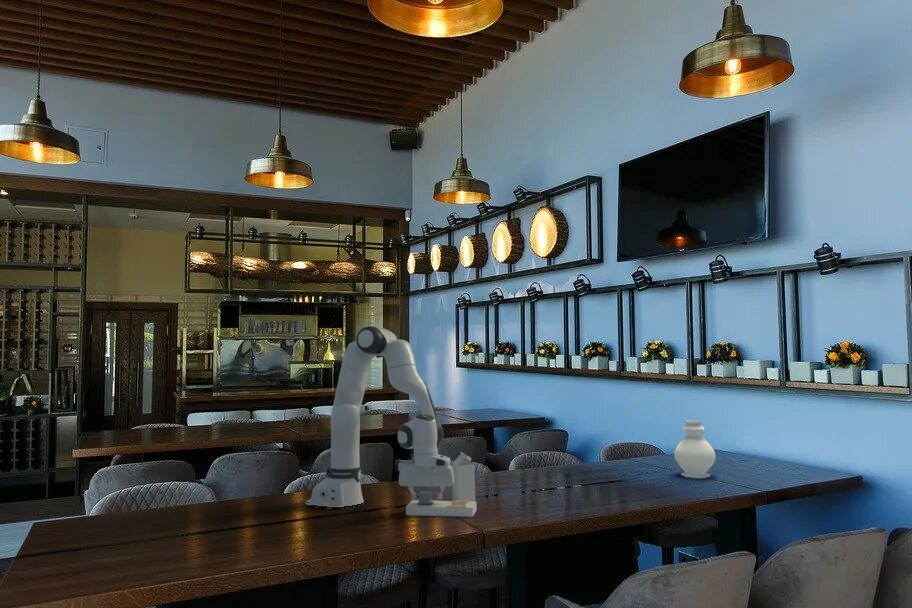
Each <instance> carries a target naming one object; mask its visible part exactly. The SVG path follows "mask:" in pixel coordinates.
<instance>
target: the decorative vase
mask: <svg viewBox="0 0 912 608" xmlns="http://www.w3.org/2000/svg"><path fill="white" fill-rule="evenodd" d="M684 422H685V425H684V426H683V428H682V431H683V433H684V434H685V435H686V436H684V438H682V440H680V442H679V443H678V444H677V446H676V448H675V449H674V454H673V455H674V459H675V461H676V463H677V464H678V465H679V467H680V468H681V469H682V470H683V472H682V473H680V475H682V476H681V477H683V476H684V477H683V478H688V477H689V478H688V479H708V478H711V474H709V473H707V472H708V471H709V470H710V469H711V467H712V466H713V465H714V463H715V462H716V457H717V455H716V452H715V449H714V448H713V446H712V445H711V444H710V442H708V441H707V440H706V439H705V438H704V437H703V436H702V435H703V434H704V433H705V427H704V426H703V425H701V424H703V420H698V419H686V420H684Z"/></svg>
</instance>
